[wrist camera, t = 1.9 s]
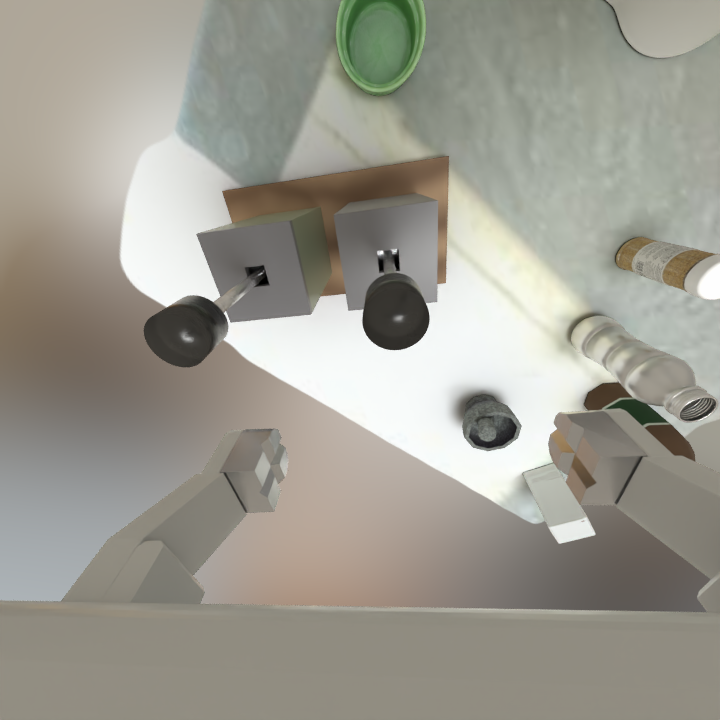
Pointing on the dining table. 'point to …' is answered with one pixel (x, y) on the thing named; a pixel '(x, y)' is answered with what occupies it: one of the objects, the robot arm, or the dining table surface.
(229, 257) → the olive slotted block
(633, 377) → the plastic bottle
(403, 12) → the ramekin
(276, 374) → the dining table surface
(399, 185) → the walnut board
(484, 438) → the mortar and pestle
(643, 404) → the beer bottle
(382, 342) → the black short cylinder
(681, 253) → the sprinkles bottle
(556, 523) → the supplement box
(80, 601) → the robot arm
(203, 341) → the black plunger knob
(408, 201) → the grey block
